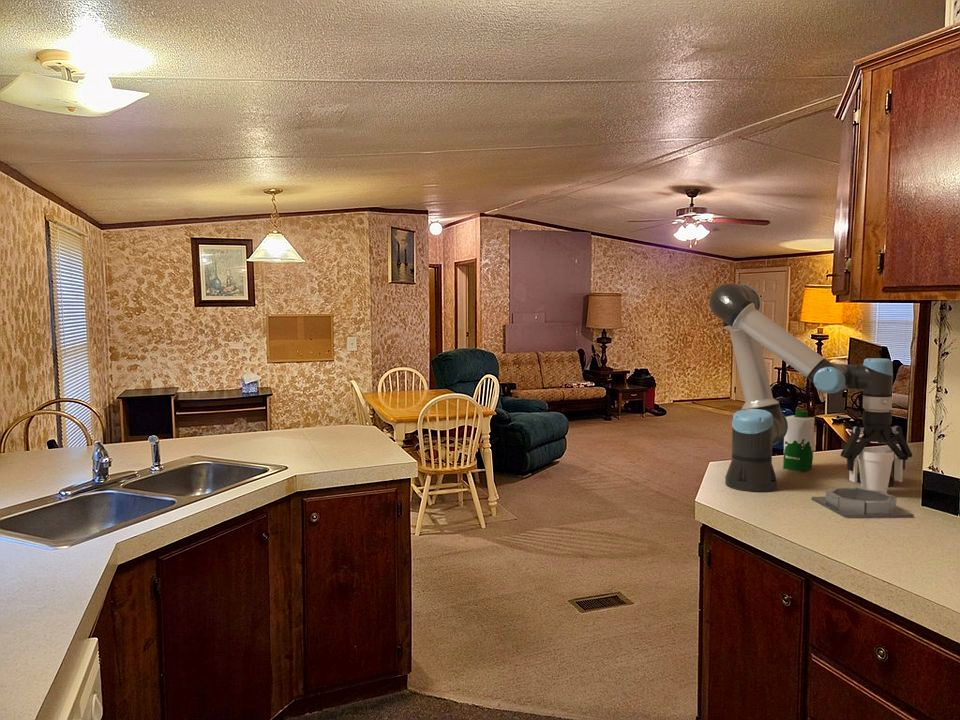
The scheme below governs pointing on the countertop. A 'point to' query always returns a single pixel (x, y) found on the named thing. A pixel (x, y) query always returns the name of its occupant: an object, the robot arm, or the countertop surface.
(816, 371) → the robot arm
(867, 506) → the ring seat
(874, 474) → the foam cup
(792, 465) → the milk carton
